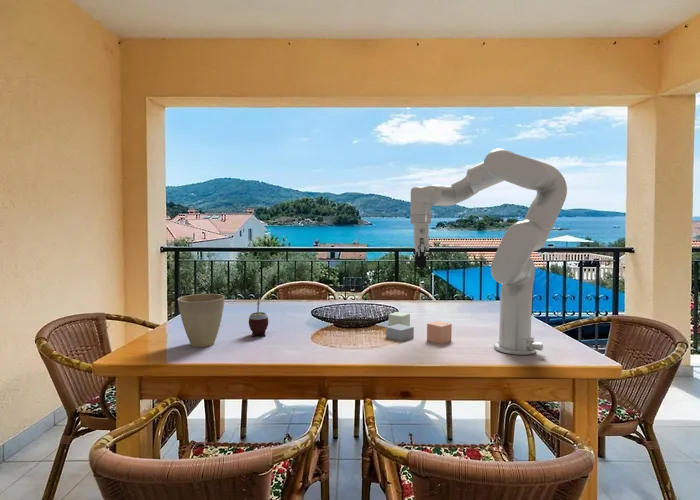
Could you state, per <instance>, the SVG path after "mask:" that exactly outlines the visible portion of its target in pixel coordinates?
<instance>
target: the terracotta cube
mask: <svg viewBox="0 0 700 500" xmlns="http://www.w3.org/2000/svg"><path fill="white" fill-rule="evenodd" d="M452 326H453V325H452V323H449V322H445V321H439V320H437V321H436V320H435V321H432V322H428V323H426V341H427V342H432V343H437V344H440V345H443V344H446V343H449V342H452V328H453V327H452Z"/></svg>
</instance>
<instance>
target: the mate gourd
mask: <svg viewBox="0 0 700 500" xmlns="http://www.w3.org/2000/svg"><path fill="white" fill-rule="evenodd" d="M261 298H262V297H261V296H259V297H258V299H257V304H256V305H257V307H256V309H257V310H256V312H252V313H251V314H250V315H249V318H248V327H249V329H250V331H251V335H252V336H251V337H252V338H256V337H266V336H267V335H266V331H267V328H268V326H269V317H268V315H267V313H266V312H262V311H260V300H261Z"/></svg>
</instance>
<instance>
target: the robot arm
mask: <svg viewBox="0 0 700 500" xmlns="http://www.w3.org/2000/svg"><path fill="white" fill-rule="evenodd" d="M502 182H507V183H510V184H513V185H516V186H518V187H521V188H524V189H526V190H530V191H536V195H535V197H534V199H533V201H532V202H531V203H530V206H529V208H528V210H527V212H526V215H525V216H524V218H523V220H519V221H516V222H514V223H513V224H511V225H509V227H508V228H507V230H506V232H505V233H504V234H503V237H502V239H501V242H500V244H499V245H498V248H497V250H496V252H495V255H494V257H493V259H492V260H491V265H490V272H491V273H490V274H491V276H492V278H493V279H494V280H495V282H496V283H499V284H500V285H501V287H500V299H499V300H500V301H499V330H498V331H499V332H498V333H499V337H498V338H499V339H498V341H496V342H494V343H493V348H494V349H495V350H497V351H498V352H501V353H505V354H510V355H518V356H524V355H525V356H526V355H527V356H528V355H532V354H535V353H536V352H537V351H540V352H541V351H543V349H544V344H543V343H542V342H538V341H537V342H536V341H535V337H534V336H532V312H533V311H532V310H533V308H532V307H533V305H532V304H533V289H534V287H533V286H534V282H535V273H536V266H535V263H534V261H533V259H532V257H531V256H532V254H533V252H537V251H538V250H539V251H540V250H541V249H542V248H543V247H544V246H545V244H546V242H547V241H548V238H549V235H550V234H551V231H552V230H553V228H554V226H555V224H556V221H557V219H558V216H559V215H560V212H561V210H562V208H563V206H564V204H565V202H566V198H567V195H568V187H567V182H566V179H565V177H564V176H563V174H562V172H560V171H559V170H558V169H557V167H555V166H553V165H551V164H549V163H545V162H543V161H539V160H536V159H533V158H530V157H528V156H527V157H526V156H523V155H520V154H517V153H514V152H513V151H510V150H508V149H503V148H496V149H493V150H491V151H490V152H489V153H487V154H486V155H485V157H484V160H483V161H482V162H479V163H477V164H476V165H474V166H471V167H469V168H468V169H467V171H466V176H465V177H463V178H462V179H460V180H458V181H456V182H454V183H452V184H450V185H449V184H448V185H444V184H443V185H442V184H435V183H434V184H430V185H426V186H414V187H412V188H411V189H410V225H413V248H414V249H415V254H414V264H415V265H416V266H417V268H426V267H427V253H426V251H429V250H430V231H429V229H430V227H429V225H431V224H432V206H435V207H436V206H437V207H440V206H441V207H452V206H454V205H457V204H459V203H462V202H463V201H466V200H468V199H470V198H471V197H473V196H475V195H477V194H478V193H479V192H480V191H483V190H485V189H488V188H491V187H492V186H495V185H497V184H501V183H502Z"/></svg>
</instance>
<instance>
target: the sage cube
mask: <svg viewBox="0 0 700 500" xmlns="http://www.w3.org/2000/svg"><path fill="white" fill-rule="evenodd" d="M396 324H402V325H406V326H411V314H410V313H409V312H408V313H407V312H399V311H395V312H391V313H388V326H392V325H396ZM388 326H387V327H388Z"/></svg>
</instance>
